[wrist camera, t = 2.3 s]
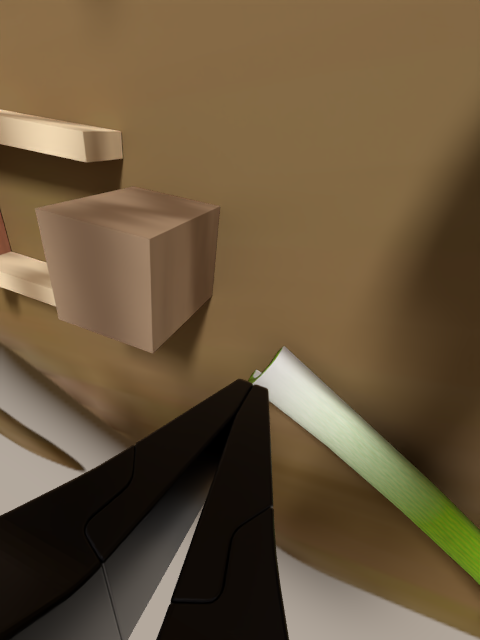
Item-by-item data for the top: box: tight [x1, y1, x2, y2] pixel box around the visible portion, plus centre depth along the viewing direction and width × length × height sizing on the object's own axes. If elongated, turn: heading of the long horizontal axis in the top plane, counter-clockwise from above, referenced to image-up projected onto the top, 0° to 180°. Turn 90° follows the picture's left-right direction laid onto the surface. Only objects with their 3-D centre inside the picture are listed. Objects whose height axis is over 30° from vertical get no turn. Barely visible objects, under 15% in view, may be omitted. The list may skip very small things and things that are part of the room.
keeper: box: [35, 186, 220, 353], centre depth 15 cm, size 5×5×6 cm
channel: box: [0, 110, 123, 306], centre depth 18 cm, size 11×10×4 cm
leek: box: [248, 346, 480, 585], centre depth 19 cm, size 6×7×30 cm
